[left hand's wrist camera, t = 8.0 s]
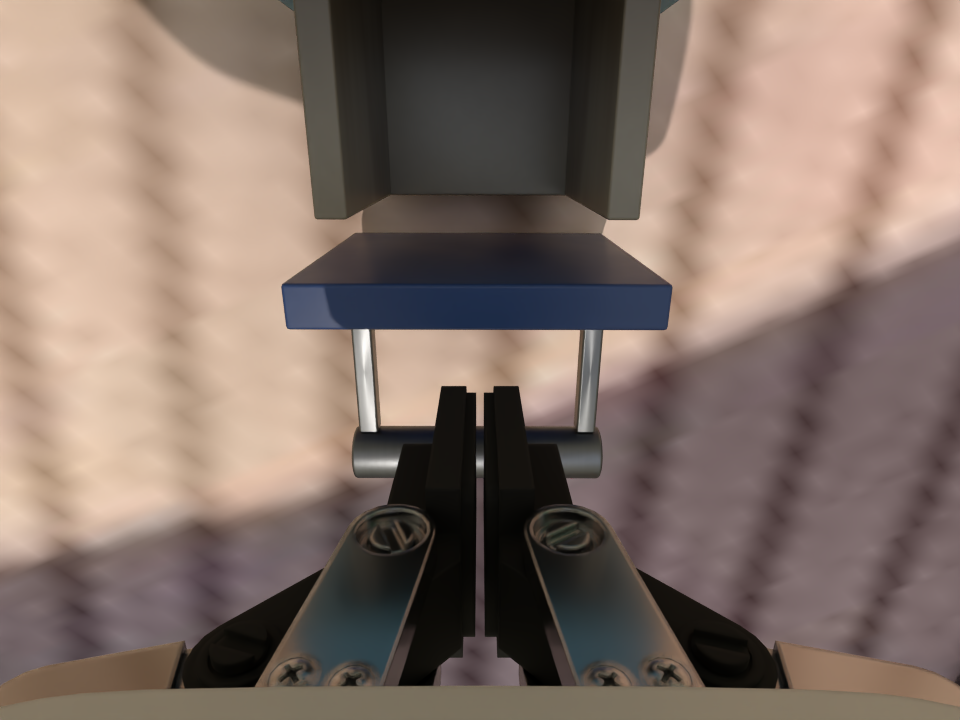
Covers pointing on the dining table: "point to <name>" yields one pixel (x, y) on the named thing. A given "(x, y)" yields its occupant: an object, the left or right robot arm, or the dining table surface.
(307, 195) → the dining table surface
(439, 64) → the drawer
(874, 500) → the dining table surface
